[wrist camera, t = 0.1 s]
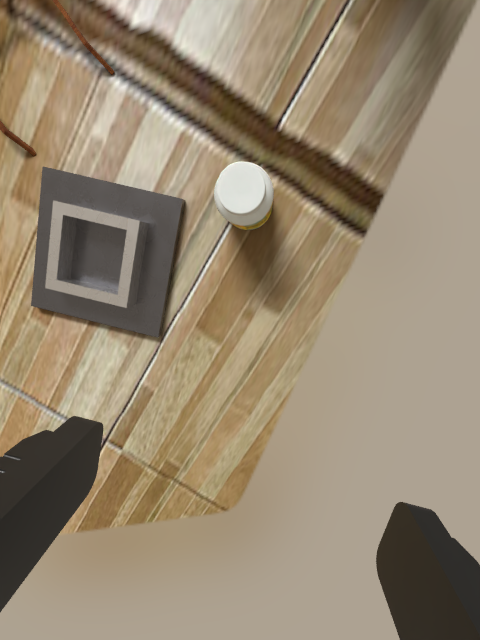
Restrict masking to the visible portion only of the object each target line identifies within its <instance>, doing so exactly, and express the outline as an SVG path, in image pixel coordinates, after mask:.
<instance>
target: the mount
mask: <svg viewBox="0 0 480 640" xmlns="http://www.w3.org/2000/svg"><path fill="white" fill-rule="evenodd" d="M184 204H185V200H183V199H180V198H176V197H172V196H167V195H163V194H159V193H154V192H150V191H146V190H142V189H137V188H133V187H129V186H124V185H120V184H116V183H111V182H107V181H103V180H99V179H94V178H90V177H86V176H81V175H77V174H73V173H68V172H64V171H60V170H56V169H51V168H47V167H43V170H42V182H41V194H40V206H39V218H38V230H37V242H36V254H35V266H34V278H33V290H32V302H31V306H34V307H38V308H42V309H46V310H50V311H54V312H58V313H62V314H66V315H70V316H74V317H78V318H82V319H86V320H90V321H94V322H98V323H102V324H106V325H110V326H114V327H118V328H122V329H126V330H130V331H134V332H138V333H142V334H146V335H150V336H154V337H159V336H161V332H162V326H163V321H164V315H165V310H166V304H167V298H168V293H169V287H170V282H171V276H172V271H173V265H174V260H175V254H176V249H177V243H178V238H179V232H180V227H181V221H182V215H183V210H184Z"/></svg>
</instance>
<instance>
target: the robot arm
mask: <svg viewBox="0 0 480 640" xmlns="http://www.w3.org/2000/svg"><path fill="white" fill-rule="evenodd" d="M102 436H103V424H102V423H100V422H96V421H93V420H89V419H85V418H81V417H77V416H73V417H71V418H69V419H68V420H67V421H66V422H65V423H63V424H62V425H61V426H60V427H59V428H57V429H56V430H55V431H54V432H52V431H48V430H45V431H42V432H40V433H37V434H35V435H33V436H30V437H28V438H25V439H23V440H22V441H20V442H19V443H18V444H16V445H15V446H14V447H13V448H11V449H10V450H9V451H7V452H6V453H5V454H4V456H3V457H0V612H1V611H2V609H3V608H4V607H5V605H6V604H7V602H8V601H9V600H10V599H11V597H12V595H13V594H14V593H15V592H16V590H17V589H18V588H19V586H20V585H21V584H22V582H23V581H24V580H25V578H26V577H27V576H28V574H29V573H30V572H31V570H32V569H33V568H34V566H35V565H36V564H37V562H38V561H39V560H40V558H41V557H42V555H43V554H44V553H45V552H46V550H47V549H48V548H49V546H50V545H51V544H52V542H53V541H54V540H55V538H56V537H57V536H58V534H59V533H60V531H61V530H62V529H63V527H64V526H65V525H66V523H67V522H68V521H69V519H70V518H71V517H72V515H73V514H74V513H75V511H76V510H77V509H78V507H79V506H80V505H81V503H82V502H83V501H84V499H85V498H86V496H87V495H88V493H89V492H90V490H91V488H92V486H93V483H94V481H95V478H96V474H97V470H98V463H99V456H100V449H101V442H102ZM376 562H377V563H376V564H377V572H378V577H379V580H380V583H381V585H382V589H383V592H384V594H385V597H386V600H387V603H388V606H389V609H390V612H391V615H392V617H393V621H394V624H395V626H396V629H397V632H398V635H399V638H400V640H480V565H479V564H478V562H477V561H476V560H475V559H474V558H473V557H472V556H471V555H470V554H469V553H468V552H467V551H466V550H465V549H464V548H463V547H462V546H461V545H460V544H459V543H458V542H457V540H456V539H454V538H451V536H450V534H449V533H448V531H447V530H446V528H445V527H444V525H443V524H442V522H441V521H440V519H439V518H438V516H437V515H436V513H435V512H433V511H432V510H430V509H426V508H423V507H419V506H415V505H411V504H408V503H403V502H399V503H397V504H396V506H395V507H394V510H393V512H392V514H391V517H390V520H389V522H388V524H387V527H386V529H385V532H384V534H383V537H382V539H381V542H380V544H379V547H378V550H377V558H376Z"/></svg>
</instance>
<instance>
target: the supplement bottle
mask: <svg viewBox="0 0 480 640" xmlns="http://www.w3.org/2000/svg"><path fill="white" fill-rule="evenodd" d="M214 198H215V203H216V206H217V209H218V210H219V212H220V214H221V215H222V216H223V217H224V218H225V219H226V220H227V221H229V222H230V223H231V224H232V225H234V226H235V227H237V228H240V229H243V230H253V229H256V228H259V227H260V226H262V225H263V224H264V223H265V222H266V221H267V220H268V218H269V216H270V214H271V211H272V207H273V198H274V191H273V185H272V182H271V179H270V177H269V176H268V174H267V173H266V172H265V171H264V170H263V169H262V168H261V167H260V166H258V165H256V164H254V163H250V162H236V163H233V164H230V165H229V166H227V167H226V168H225V169H224V170H223V171H222V172H221V174H220V176H219V178H218V180H217V182H216V185H215V190H214Z"/></svg>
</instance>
